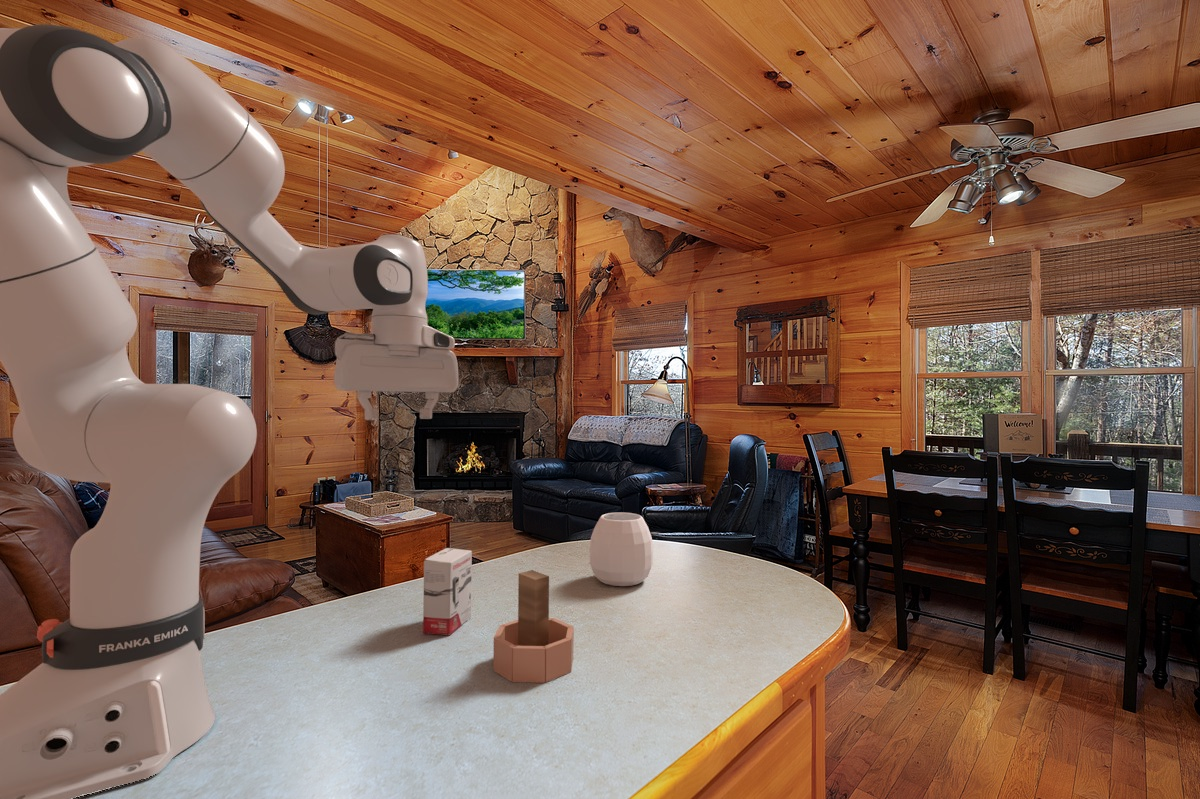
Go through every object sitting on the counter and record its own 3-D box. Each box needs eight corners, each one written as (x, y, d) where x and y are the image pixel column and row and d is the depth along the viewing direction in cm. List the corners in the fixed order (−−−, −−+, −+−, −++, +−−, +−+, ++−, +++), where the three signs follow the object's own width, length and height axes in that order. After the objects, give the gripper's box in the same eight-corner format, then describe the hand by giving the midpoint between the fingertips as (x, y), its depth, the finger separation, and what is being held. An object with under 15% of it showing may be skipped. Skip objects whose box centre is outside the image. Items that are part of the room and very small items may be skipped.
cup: (655, 592, 113) (655, 523, 113) (588, 591, 113) (588, 522, 113) (650, 571, 126) (650, 510, 126) (590, 571, 127) (590, 510, 127)
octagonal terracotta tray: (526, 690, 74) (526, 655, 74) (481, 662, 82) (481, 631, 82) (588, 664, 82) (588, 633, 82) (541, 641, 90) (541, 612, 90)
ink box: (450, 636, 91) (450, 562, 91) (421, 634, 92) (422, 560, 92) (472, 616, 100) (473, 548, 100) (446, 614, 101) (447, 546, 101)
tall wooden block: (534, 666, 80) (535, 579, 80) (517, 656, 83) (518, 573, 83) (548, 661, 82) (549, 576, 82) (531, 651, 84) (532, 570, 84)
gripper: (342, 329, 87) (341, 421, 87) (463, 339, 101) (462, 418, 101) (327, 332, 91) (327, 420, 91) (445, 342, 105) (444, 417, 105)
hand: (399, 419), depth 96 cm, fingers open, 8 cm apart
